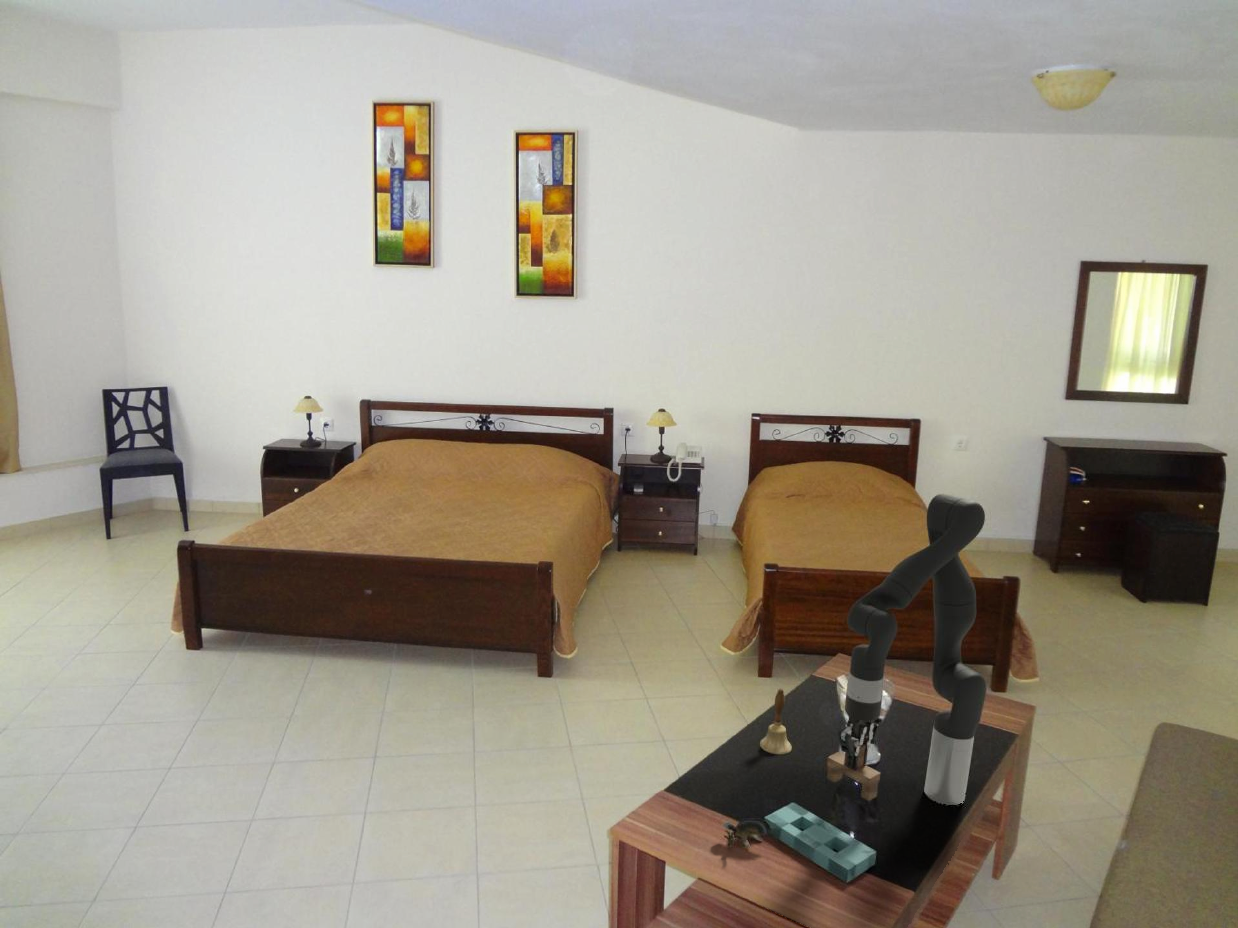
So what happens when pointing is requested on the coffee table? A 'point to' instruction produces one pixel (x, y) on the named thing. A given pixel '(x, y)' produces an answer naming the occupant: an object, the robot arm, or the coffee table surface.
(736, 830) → the brown animal figure
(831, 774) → the wooden forked block
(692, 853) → the coffee table surface
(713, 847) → the coffee table surface
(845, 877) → the teal block with holes
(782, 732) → the hand bell
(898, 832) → the coffee table surface
